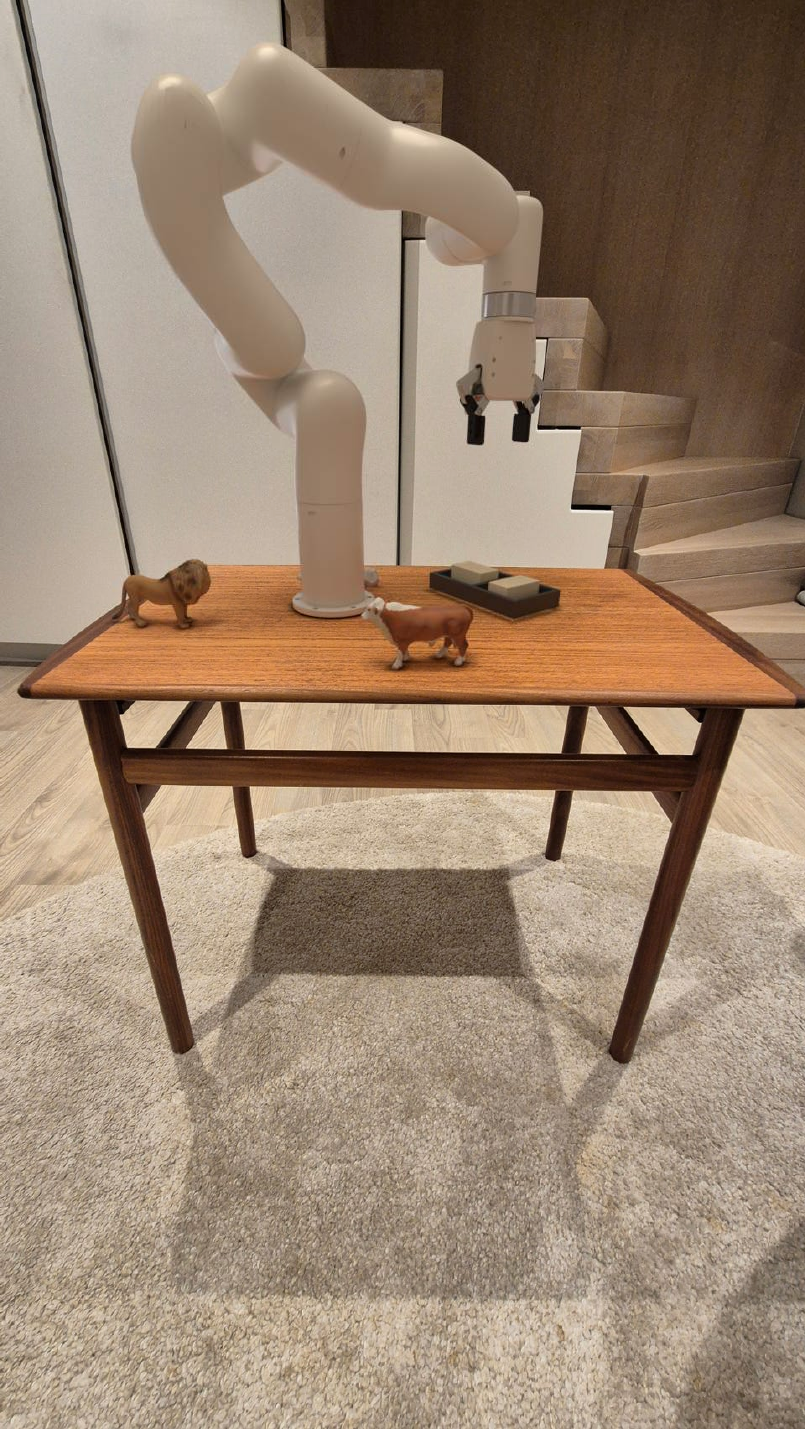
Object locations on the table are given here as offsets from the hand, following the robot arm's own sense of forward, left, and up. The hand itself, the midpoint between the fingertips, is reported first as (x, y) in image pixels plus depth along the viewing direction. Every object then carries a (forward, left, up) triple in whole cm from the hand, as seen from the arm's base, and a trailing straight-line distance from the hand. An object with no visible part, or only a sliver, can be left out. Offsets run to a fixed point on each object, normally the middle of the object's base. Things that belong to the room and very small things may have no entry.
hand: (498, 443), depth 93 cm
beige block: (+11, -6, -22) cm, 25 cm away
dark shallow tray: (+7, -6, -22) cm, 24 cm away
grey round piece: (-10, -18, -23) cm, 30 cm away
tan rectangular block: (+2, -6, -22) cm, 22 cm away
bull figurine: (+20, -31, -23) cm, 43 cm away
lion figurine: (-12, -51, -23) cm, 57 cm away
